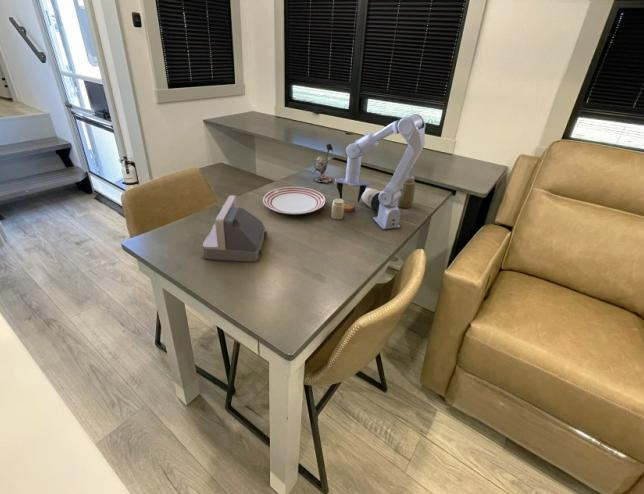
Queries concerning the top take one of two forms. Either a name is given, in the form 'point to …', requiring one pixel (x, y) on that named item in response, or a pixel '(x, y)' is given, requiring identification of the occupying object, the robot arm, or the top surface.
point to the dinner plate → (294, 200)
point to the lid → (348, 207)
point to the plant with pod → (322, 166)
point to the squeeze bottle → (407, 192)
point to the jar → (337, 209)
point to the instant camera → (234, 234)
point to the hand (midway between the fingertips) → (349, 200)
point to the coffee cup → (371, 198)
